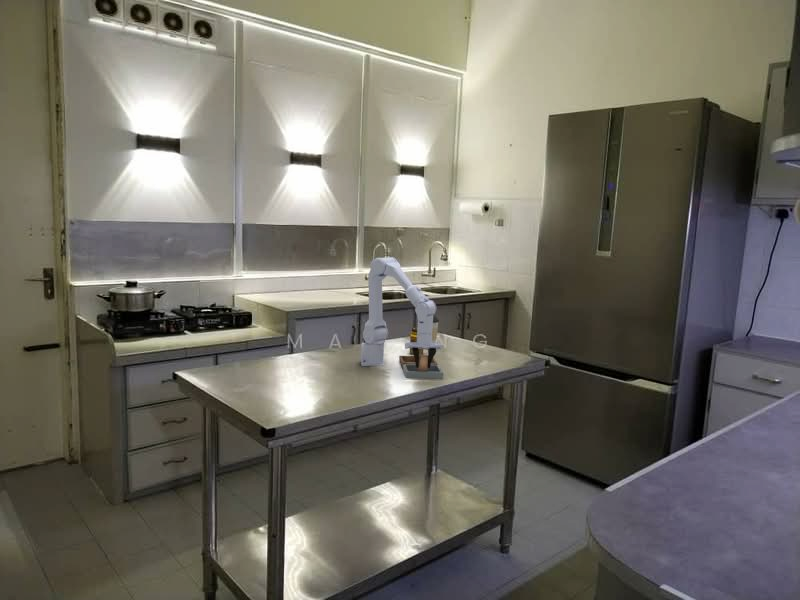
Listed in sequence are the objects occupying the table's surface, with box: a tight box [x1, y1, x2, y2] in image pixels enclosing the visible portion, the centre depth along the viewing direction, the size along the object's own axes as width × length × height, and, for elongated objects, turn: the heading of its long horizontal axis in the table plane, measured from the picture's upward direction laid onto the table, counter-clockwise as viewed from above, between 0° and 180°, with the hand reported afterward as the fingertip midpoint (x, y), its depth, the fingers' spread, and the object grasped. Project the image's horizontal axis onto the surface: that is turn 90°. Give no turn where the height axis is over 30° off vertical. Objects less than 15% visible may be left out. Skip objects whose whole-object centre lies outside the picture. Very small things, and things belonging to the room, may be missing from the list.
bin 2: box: [402, 364, 444, 380], centre depth 222 cm, size 14×11×3 cm
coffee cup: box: [432, 315, 440, 343], centre depth 269 cm, size 9×9×15 cm
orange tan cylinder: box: [417, 354, 428, 372], centre depth 222 cm, size 4×4×6 cm
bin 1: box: [398, 355, 439, 370], centre depth 235 cm, size 14×12×3 cm
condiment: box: [409, 327, 428, 356], centre depth 254 cm, size 7×8×12 cm
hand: (422, 367), depth 221 cm, fingers closed on orange tan cylinder, 4 cm apart
